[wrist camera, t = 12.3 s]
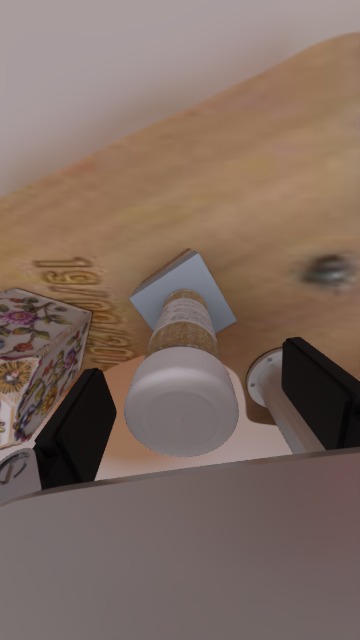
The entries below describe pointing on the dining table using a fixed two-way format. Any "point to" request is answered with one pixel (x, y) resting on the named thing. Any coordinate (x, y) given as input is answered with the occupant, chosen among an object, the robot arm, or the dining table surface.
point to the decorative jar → (36, 359)
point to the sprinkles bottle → (182, 384)
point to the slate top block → (178, 277)
